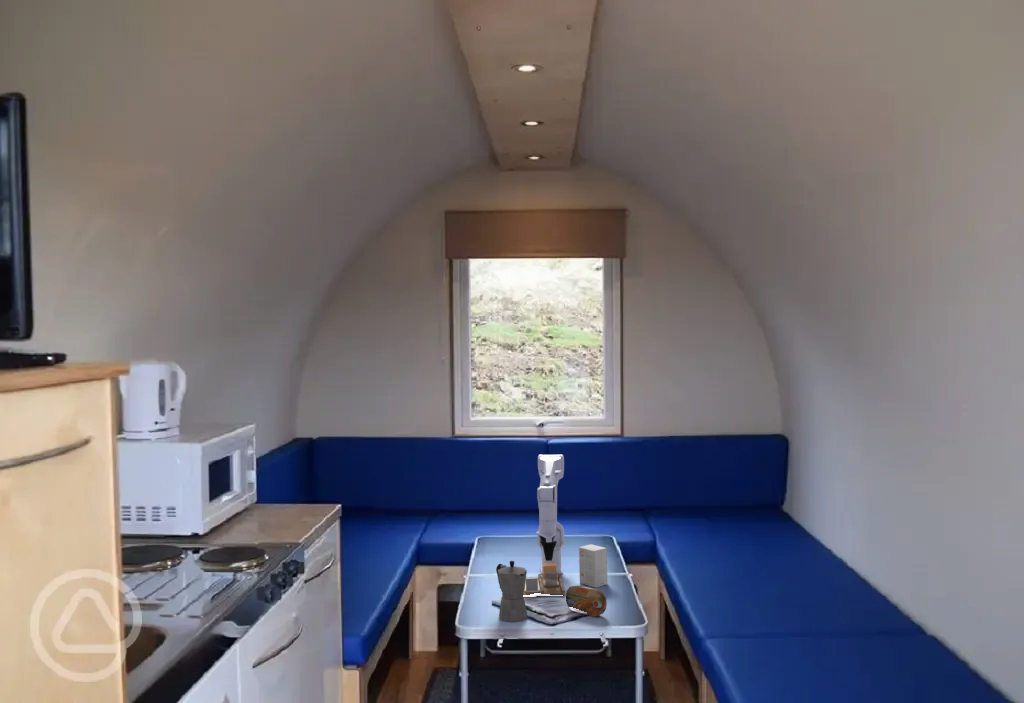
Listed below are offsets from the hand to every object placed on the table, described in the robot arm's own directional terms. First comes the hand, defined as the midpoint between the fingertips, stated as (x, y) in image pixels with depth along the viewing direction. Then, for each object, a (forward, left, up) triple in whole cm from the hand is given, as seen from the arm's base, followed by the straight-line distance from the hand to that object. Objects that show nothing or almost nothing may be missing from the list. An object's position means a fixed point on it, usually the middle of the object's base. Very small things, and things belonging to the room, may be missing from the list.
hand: (548, 557), depth 312 cm
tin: (+33, +10, -10) cm, 36 cm away
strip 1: (+6, -7, -8) cm, 12 cm away
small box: (+1, +16, -10) cm, 19 cm away
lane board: (+5, -3, -9) cm, 11 cm away
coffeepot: (+34, -14, -10) cm, 38 cm away
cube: (-3, +1, -8) cm, 8 cm away
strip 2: (-1, 0, -8) cm, 8 cm away
